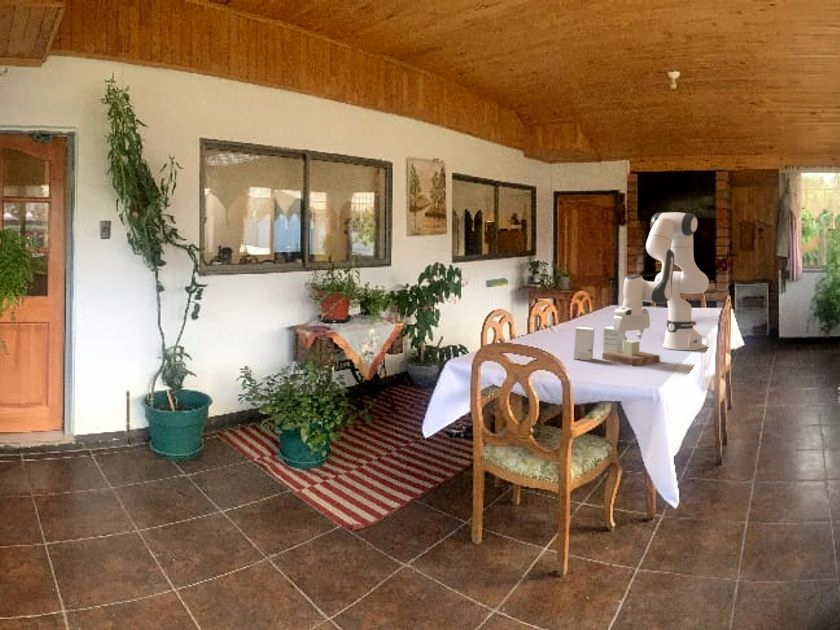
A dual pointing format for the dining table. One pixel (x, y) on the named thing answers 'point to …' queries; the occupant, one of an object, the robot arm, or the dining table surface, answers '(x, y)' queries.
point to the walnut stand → (631, 358)
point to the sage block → (631, 347)
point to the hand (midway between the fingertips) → (631, 339)
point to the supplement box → (612, 340)
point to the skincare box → (584, 343)
